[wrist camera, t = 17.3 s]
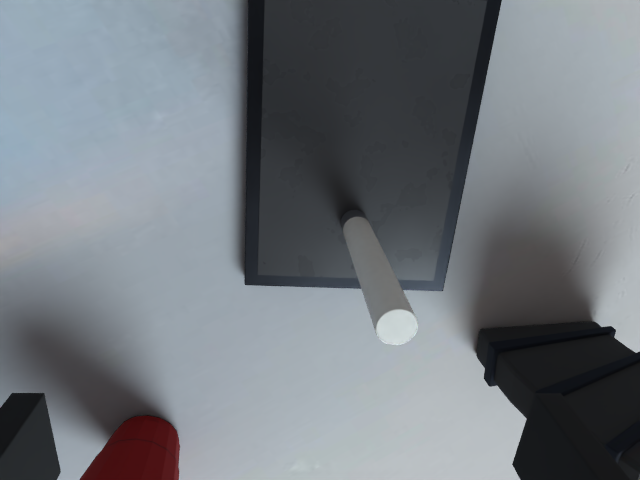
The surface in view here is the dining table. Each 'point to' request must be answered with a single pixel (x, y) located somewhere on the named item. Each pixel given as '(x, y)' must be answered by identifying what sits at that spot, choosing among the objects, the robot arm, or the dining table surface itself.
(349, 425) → the dining table surface
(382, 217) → the tablet
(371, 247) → the stylus
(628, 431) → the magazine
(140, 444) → the plastic cup
